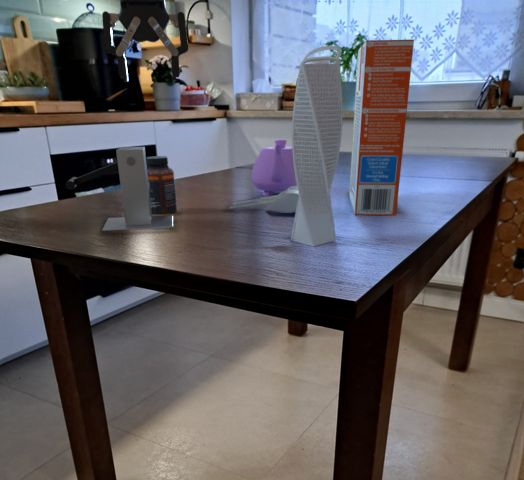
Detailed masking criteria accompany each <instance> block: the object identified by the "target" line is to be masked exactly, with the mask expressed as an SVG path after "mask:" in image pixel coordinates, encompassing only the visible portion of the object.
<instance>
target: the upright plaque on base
mask: <svg viewBox="0 0 524 480" xmlns="http://www.w3.org/2000/svg"><path fill="white" fill-rule="evenodd" d="M115 151H116V160H117V161H116V162H118V169H117V170H118V175H119V177H118V178H119V184H120V192H121V200H122V207H123V216H121V217H108V218H107V220H106V221H105V223H104V225H103V228H102V229H101V232H119V231H120V232H122V231H141V230H143V231H144V230H162V229H163V230H164V229H165V230H166V229H174V215H173V214H165V215H153V214H152V213H151V204H150V194H149V185H148V175H147V166H148V165H147V160H146V158H147V156H146V147H145V146H118V149H116V150H115Z"/></svg>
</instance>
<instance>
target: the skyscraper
mask: <svg viewBox="0 0 524 480" xmlns="http://www.w3.org/2000/svg"><path fill="white" fill-rule="evenodd" d="M330 50H331V51H332V50H333V51H337V53H336V55H335V56H326V55H325V56H324V55H323V56H313V55H314V54H316V53H319V52H323V51H330ZM342 51H343V50H342V48H341V47H340V46H337V45H325V46H319V47H316V48H314V49H312V50H311V51H309V52H308V53H307V54H306V55H305V56H304V58H302V61H301V62H300V65H299V69H298V74H297V81H296V87H295V93H294V99H293V100H294V101H293V108H292V117H291V147H292V154H293V164H294V171H295V178H296V183H297V189H298V194H299V199H298V204H297V209H296V213H294V220H293V223H292V229H291V230H292V231H291V236H290V242H294V243H298V244H302V245H307V246H311V247H316V246H322V245H324V244H327V243H331V242H336V241H337V236H336V229H335V227H336V226H335V221H334V213H333V206H332V200H331V199H332V198H331V189H332V185H333V182H334V178H335V175H336V171H337V166H338V163H339V156H340V150H341V145H342V137H343V115H344V113H343V89H342V78H341V75H342V74H341V66H340V65H341V64H340V63H341V62H340V57H341V53H342ZM330 62H333V63H330Z"/></svg>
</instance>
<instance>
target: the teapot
mask: <svg viewBox="0 0 524 480" xmlns="http://www.w3.org/2000/svg"><path fill="white" fill-rule="evenodd" d="M274 144H275V146H265V147H263V148H262V149H261V151H260V152H259V154H258V156H257V157H256V159H255V161H254V163H253V166H252V171H251V175H250V180H251V183H252V184H253V185H254V187H255V188H256V189H257V190H259V191H263V193H262V196H265V197H267V196H273V195H274V194H273V193H274V192H275V193H276V192H278V193H279V192H280V193H281V192H283V191H284V190H286V189H287V188H289V187H291V186H297V183H296V178H295V171H294V164H293V154H292V145H291V146H290V145H289V146H287V145H286V144H287V140H286V139H274Z"/></svg>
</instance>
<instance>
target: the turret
mask: <svg viewBox="0 0 524 480" xmlns="http://www.w3.org/2000/svg"><path fill="white" fill-rule="evenodd" d="M298 199H299V194H298V189H297V186H291V187H289V188H287V189H286V190H284V191H283V192H280V193H278V194H275V195H274V194H272V195H269V196H260V197H258V198H252V199H247V200H246V199H244V200H237V201H235V202H233V204H232V205H231V206H230V207H228V210H262V211H263V210H264V211H265V213H266V214H283V213H284V214H291V213H294V214H296V209H297V204H298Z"/></svg>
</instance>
